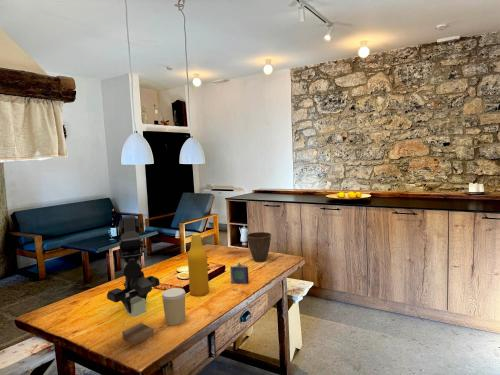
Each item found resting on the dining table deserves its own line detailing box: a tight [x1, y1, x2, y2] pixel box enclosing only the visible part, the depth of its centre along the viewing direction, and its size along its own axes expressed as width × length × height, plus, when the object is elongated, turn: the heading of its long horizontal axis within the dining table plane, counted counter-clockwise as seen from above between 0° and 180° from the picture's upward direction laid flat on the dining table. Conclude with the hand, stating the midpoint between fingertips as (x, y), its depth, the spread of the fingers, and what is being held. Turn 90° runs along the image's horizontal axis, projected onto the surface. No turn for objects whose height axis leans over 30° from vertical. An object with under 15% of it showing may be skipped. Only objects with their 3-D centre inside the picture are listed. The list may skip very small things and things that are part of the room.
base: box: [121, 322, 155, 346], centre depth 129 cm, size 8×8×3 cm
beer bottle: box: [187, 232, 210, 297], centre depth 166 cm, size 9×9×29 cm
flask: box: [230, 262, 249, 285], centre depth 177 cm, size 9×3×11 cm, turn 79°
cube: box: [125, 296, 147, 318], centre depth 128 cm, size 5×5×5 cm
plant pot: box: [246, 231, 272, 263], centre depth 212 cm, size 15×15×16 cm
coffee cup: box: [161, 287, 186, 326], centre depth 139 cm, size 9×9×12 cm
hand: (136, 310), depth 128 cm, fingers closed on cube, 5 cm apart
